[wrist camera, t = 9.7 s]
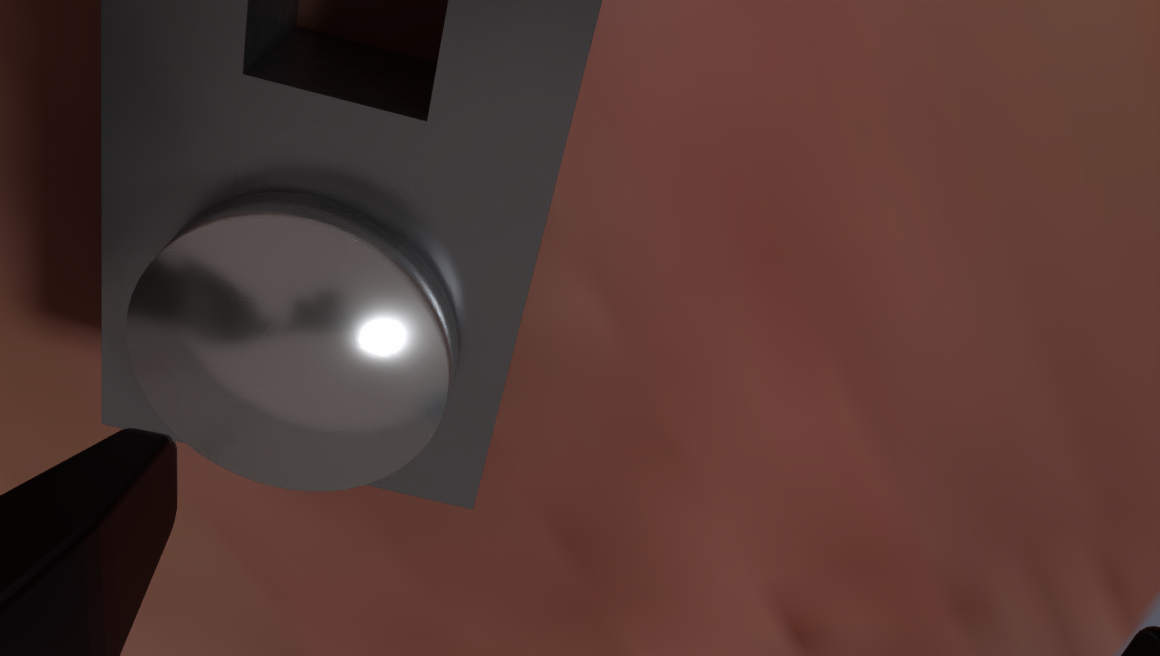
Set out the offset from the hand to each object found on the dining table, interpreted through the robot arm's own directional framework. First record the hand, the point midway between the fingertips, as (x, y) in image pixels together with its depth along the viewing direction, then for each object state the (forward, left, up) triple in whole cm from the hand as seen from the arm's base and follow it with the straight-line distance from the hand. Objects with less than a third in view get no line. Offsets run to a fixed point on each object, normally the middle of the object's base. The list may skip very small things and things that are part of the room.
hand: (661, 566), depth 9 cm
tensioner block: (-6, -2, -13) cm, 14 cm away
